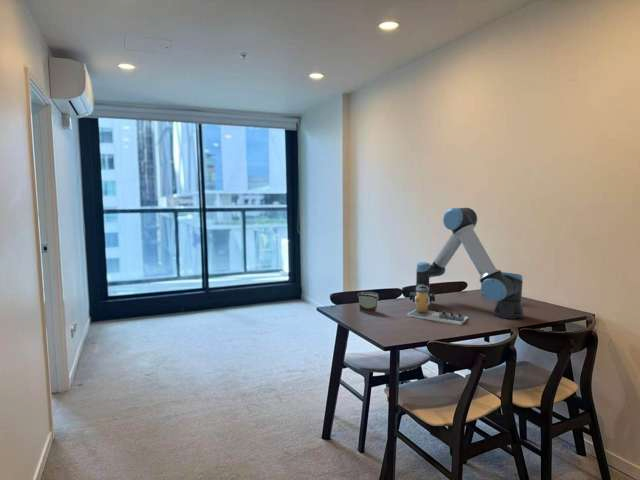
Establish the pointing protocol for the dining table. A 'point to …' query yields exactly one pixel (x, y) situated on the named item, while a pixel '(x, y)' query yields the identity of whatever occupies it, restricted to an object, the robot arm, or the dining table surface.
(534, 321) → the dining table surface
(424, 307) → the yellow jar
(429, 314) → the board
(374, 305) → the food container
